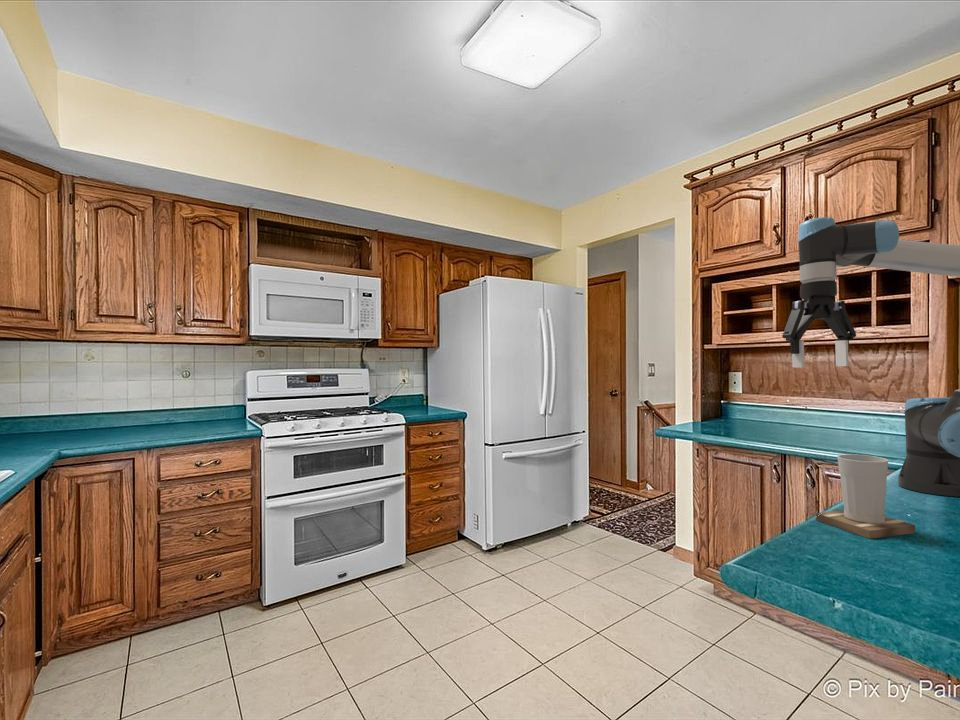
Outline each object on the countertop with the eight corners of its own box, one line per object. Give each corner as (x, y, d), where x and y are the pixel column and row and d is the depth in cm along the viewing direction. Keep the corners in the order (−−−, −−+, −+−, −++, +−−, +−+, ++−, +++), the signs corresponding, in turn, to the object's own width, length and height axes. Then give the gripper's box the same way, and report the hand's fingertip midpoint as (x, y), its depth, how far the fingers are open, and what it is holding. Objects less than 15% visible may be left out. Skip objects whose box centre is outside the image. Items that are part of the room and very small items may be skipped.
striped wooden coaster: (858, 515, 102) (857, 507, 102) (915, 532, 92) (915, 524, 92) (816, 520, 100) (815, 512, 100) (869, 538, 89) (869, 529, 89)
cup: (840, 509, 101) (838, 452, 102) (889, 516, 96) (887, 456, 96) (837, 519, 95) (836, 459, 95) (890, 527, 90) (888, 463, 90)
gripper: (842, 285, 126) (845, 365, 126) (764, 283, 120) (766, 368, 120) (872, 280, 119) (875, 365, 119) (790, 278, 113) (792, 368, 113)
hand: (820, 367), depth 119 cm, fingers open, 13 cm apart
